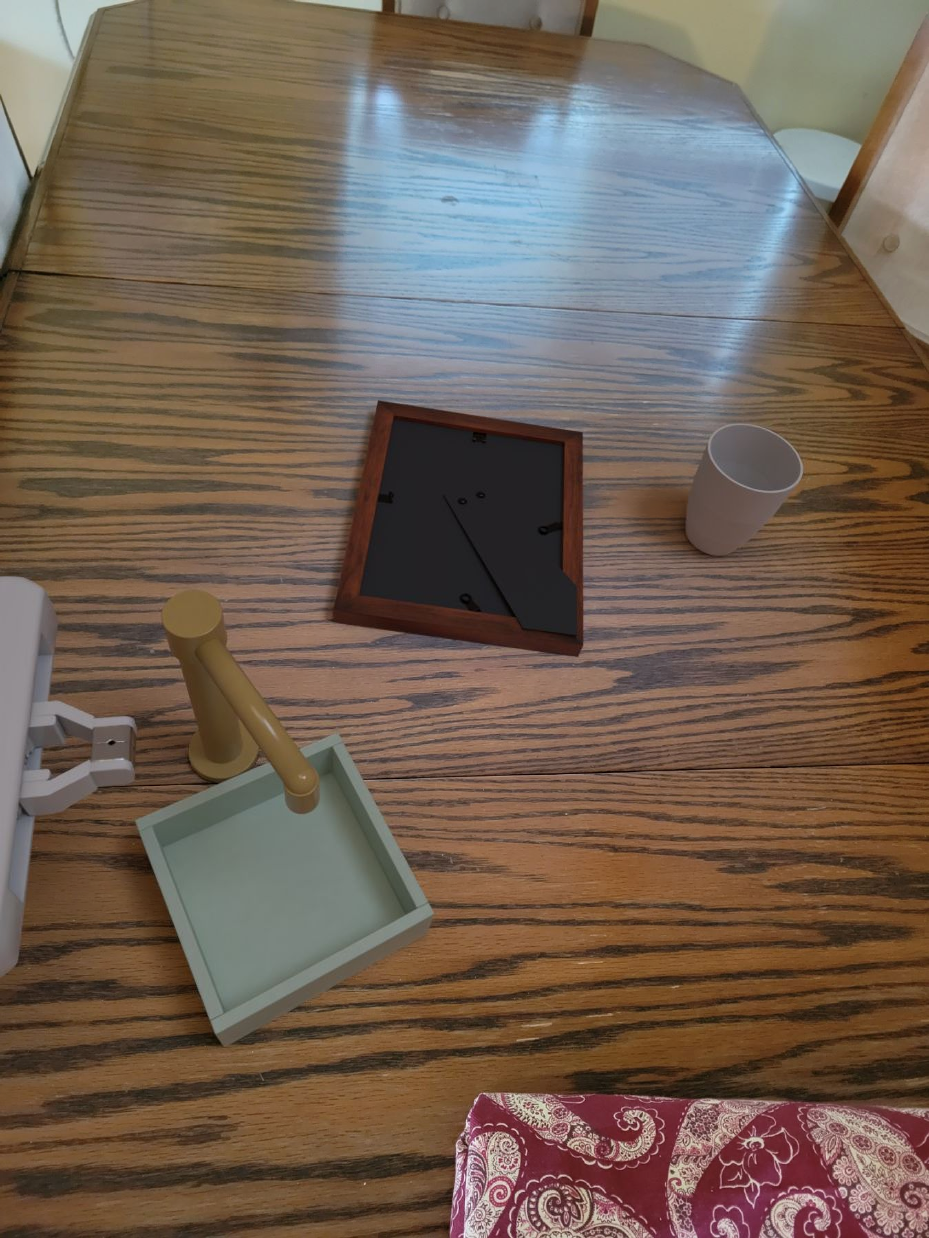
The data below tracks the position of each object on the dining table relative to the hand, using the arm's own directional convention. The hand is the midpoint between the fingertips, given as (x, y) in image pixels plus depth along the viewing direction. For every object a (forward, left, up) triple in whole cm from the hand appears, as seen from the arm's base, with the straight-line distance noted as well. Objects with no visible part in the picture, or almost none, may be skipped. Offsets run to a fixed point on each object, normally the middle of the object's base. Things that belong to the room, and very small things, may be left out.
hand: (134, 749), depth 41 cm
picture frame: (+36, -7, -16) cm, 40 cm away
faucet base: (+8, +1, -16) cm, 18 cm away
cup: (+45, -28, -16) cm, 55 cm away
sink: (+1, -7, -16) cm, 18 cm away
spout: (+5, -3, -3) cm, 7 cm away
